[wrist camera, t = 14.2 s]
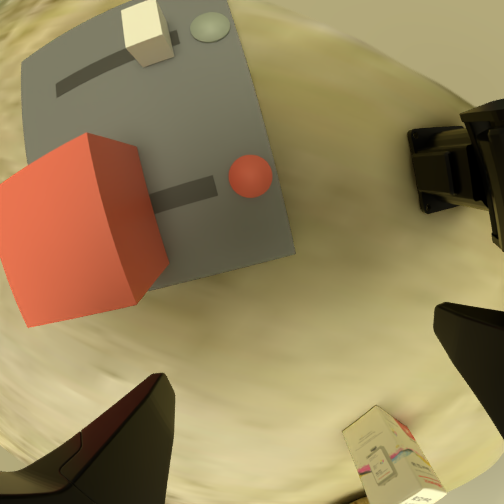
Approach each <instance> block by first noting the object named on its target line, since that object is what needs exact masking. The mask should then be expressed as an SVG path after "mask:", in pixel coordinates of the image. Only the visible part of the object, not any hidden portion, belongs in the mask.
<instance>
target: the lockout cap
mask: <svg viewBox="0 0 504 504" xmlns="http://www.w3.org/2000/svg"><path fill="white" fill-rule="evenodd" d="M0 258H1V261H2V264H3V267H4V270H5V273H6V276H7V279H8V282H9V284H10V287H11V290H12V292H13V295H14V297H15V300H16V302H17V305H18V307H19V309H20V312H21V314H22V316H23V319H24V321H25V323H26V325H27V327H28V328H29V327H34V326H39V325H44V324H49V323H54V322H59V321H64V320H69V319H74V318H78V317H83V316H88V315H93V314H97V313H102V312H106V311H111V310H116V309H120V308H125V307H129V306H134V305H137V304H138V302H139V301H140V300H141V299H142V297H143V296H144V295H145V293H146V292H147V291H148V290H149V288H150V287H151V286H152V285H153V283H154V282H155V281H156V279H157V278H158V277H159V276H160V274H161V273H162V272H163V271H164V270H165V268H166V267H167V266H168V265H169V260H168V257H167V254H166V251H165V248H164V244H163V241H162V238H161V235H160V232H159V228H158V225H157V222H156V218H155V215H154V211H153V208H152V204H151V201H150V197H149V193H148V190H147V186H146V182H145V178H144V174H143V170H142V166H141V162H140V158H139V154H138V150H137V147H136V146H133V145H130V144H126V143H123V142H120V141H116V140H113V139H109V138H105V137H102V136H98V135H94V134H91V133H87V132H86V133H84V134H82V135H80V136H78V137H76V138H75V139H73V140H71V141H69V142H67V143H65V144H63V145H61V146H60V147H58V148H56V149H54V150H53V151H51V152H49V153H47V154H46V155H44V156H42V157H41V158H39V159H37V160H36V161H34V162H33V163H31V164H29V165H28V166H26V167H25V168H23V169H22V170H20V171H19V172H17V173H16V174H14V175H13V176H11V177H10V178H8V179H7V180H5V181H4V182H3V183H1V184H0Z"/></svg>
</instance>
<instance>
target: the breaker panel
mask: <svg viewBox="0 0 504 504" xmlns="http://www.w3.org/2000/svg"><path fill="white" fill-rule="evenodd" d="M144 1H147V0H132V1H129V2H127V3H124V4H122V5H119V6H117V7H115V8H112V9H110V10H108V11H106V12H104V13H102V14H99V15H97V16H95V17H93V18H91V19H89V20H87V21H86V22H84V23H82V24H80V25H78V26H76V27H74V28H73V29H71V30H69V31H67V32H66V33H64V34H62V35H61V36H59V37H57V38H56V39H54V40H53V41H51V42H49V43H48V44H46V45H45V46H43V47H42V48H40V49H39V50H38V51H36V52H35V53H33V54H32V55H30V56H29V57H28V58H26V59H25V60H24V61H22V65H21V101H22V119H23V131H24V141H25V149H26V156H27V163H28V165H29V164H31V163H33V162H34V161H36V160H37V159H39V158H41V157H42V156H44V155H46V154H47V153H49V152H51V151H53V150H54V149H56V148H58V147H60V146H61V145H63V144H65V143H67V142H69V141H71V140H73V139H75V138H76V137H78V136H80V135H82V134H84V133H86V132H87V133H91V134H94V135H98V136H102V137H105V138H109V139H113V140H116V141H120V142H123V143H126V144H130V145H133V146H136V147H137V150H138V154H139V158H140V162H141V166H142V170H143V174H144V178H145V182H146V186H147V190H148V193H149V197H150V201H151V204H152V208H153V211H154V215H155V218H156V222H157V225H158V228H159V232H160V235H161V238H162V241H163V244H164V248H165V251H166V254H167V257H168V260H169V265H168V266H167V267H166V268H165V270H164V271H163V272H162V273H161V274H160V276H159V277H158V278H157V279H156V281H155V282H154V283H153V285H152V286H151V287H150V288H149V290H148V291H151V290H155V289H159V288H163V287H167V286H171V285H175V284H179V283H183V282H188V281H192V280H196V279H200V278H204V277H208V276H212V275H216V274H220V273H224V272H228V271H232V270H236V269H239V268H243V267H247V266H251V265H255V264H259V263H263V262H267V261H271V260H275V259H279V258H282V257H286V256H290V255H294V254H296V252H295V247H294V243H293V238H292V234H291V229H290V225H289V220H288V216H287V212H286V208H285V203H284V199H283V195H282V191H281V187H280V183H279V179H278V175H277V171H276V167H275V163H274V159H273V155H272V151H271V147H270V143H269V139H268V136H267V132H266V128H265V125H264V121H263V117H262V114H261V110H260V106H259V103H258V99H257V96H256V92H255V89H254V85H253V82H252V79H251V75H250V72H249V68H248V65H247V62H246V59H245V55H244V52H243V49H242V46H241V42H240V39H239V36H238V33H237V30H236V27H235V24H234V21H233V18H232V15H231V12H230V9H229V6H228V3H227V0H157V2H158V4H159V6H160V9H161V11H162V13H163V15H164V17H165V19H166V21H167V25H168V30H169V34H170V39H171V44H172V48H173V53H174V57H172V58H169V59H166V60H163V61H160V62H157V63H154V64H151V65H149V66H146V67H142V66H141V65H140V64H139V62H138V61H137V60H136V59H135V58H134V57H133V56H132V55H131V53H130V52H129V51H128V50H127V49H126V47H125V39H124V32H123V24H122V15H121V10H123V9H126V8H128V7H131V6H133V5H136V4H138V3H141V2H144Z"/></svg>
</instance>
